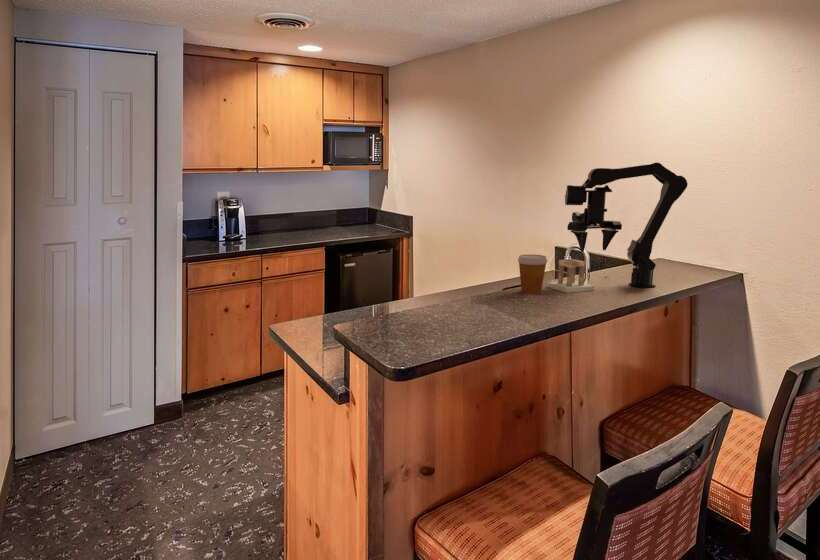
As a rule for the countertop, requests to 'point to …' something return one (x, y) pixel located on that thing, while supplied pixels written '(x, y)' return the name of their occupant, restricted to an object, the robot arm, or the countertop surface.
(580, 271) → the maple stool
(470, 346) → the countertop surface
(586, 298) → the countertop surface
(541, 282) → the disposable coffee cup
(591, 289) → the sage board
